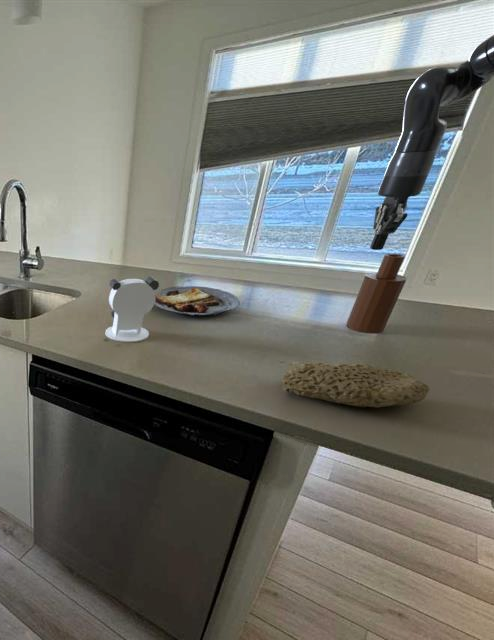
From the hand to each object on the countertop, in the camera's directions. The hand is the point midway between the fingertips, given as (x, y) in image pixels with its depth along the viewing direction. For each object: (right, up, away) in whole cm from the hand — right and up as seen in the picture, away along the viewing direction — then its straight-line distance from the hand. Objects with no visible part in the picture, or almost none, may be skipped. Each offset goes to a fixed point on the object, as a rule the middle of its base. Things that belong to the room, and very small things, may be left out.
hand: (375, 249), depth 103 cm
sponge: (-31, -38, -26) cm, 55 cm away
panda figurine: (-61, -21, +8) cm, 65 cm away
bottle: (-4, -20, -1) cm, 21 cm away
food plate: (-36, -11, +22) cm, 44 cm away
